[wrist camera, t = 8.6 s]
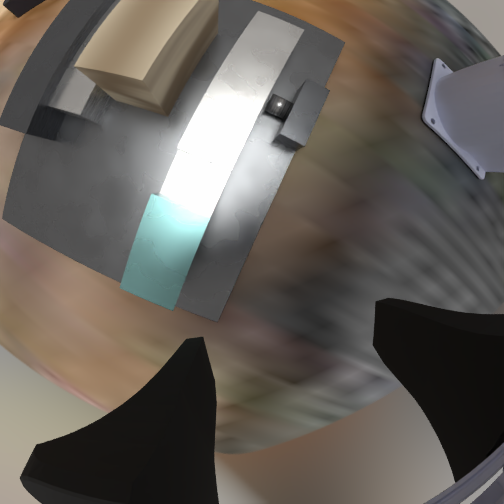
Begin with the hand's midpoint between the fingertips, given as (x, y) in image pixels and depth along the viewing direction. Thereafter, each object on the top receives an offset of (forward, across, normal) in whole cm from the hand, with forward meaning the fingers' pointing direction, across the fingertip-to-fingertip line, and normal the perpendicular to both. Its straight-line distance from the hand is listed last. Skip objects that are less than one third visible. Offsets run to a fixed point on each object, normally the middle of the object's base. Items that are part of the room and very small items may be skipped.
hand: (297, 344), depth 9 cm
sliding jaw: (+8, +2, -8) cm, 12 cm away
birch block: (+8, +4, -15) cm, 17 cm away
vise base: (+8, +6, -12) cm, 16 cm away
